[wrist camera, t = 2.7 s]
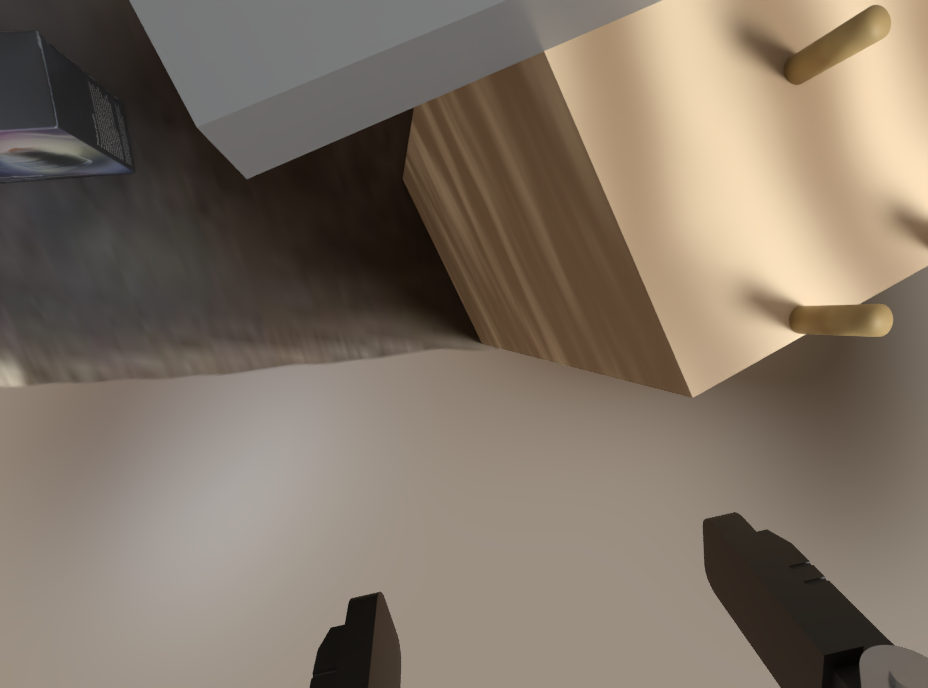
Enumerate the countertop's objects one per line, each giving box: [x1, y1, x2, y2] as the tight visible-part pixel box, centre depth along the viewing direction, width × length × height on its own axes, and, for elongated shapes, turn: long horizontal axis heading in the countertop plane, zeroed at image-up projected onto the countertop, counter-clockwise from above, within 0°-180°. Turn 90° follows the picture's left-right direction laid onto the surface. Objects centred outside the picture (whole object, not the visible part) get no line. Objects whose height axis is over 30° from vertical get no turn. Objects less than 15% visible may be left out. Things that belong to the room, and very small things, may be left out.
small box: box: [0, 30, 135, 183], centre depth 35 cm, size 11×6×10 cm, turn 98°
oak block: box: [403, 0, 928, 398], centre depth 30 cm, size 15×17×34 cm
